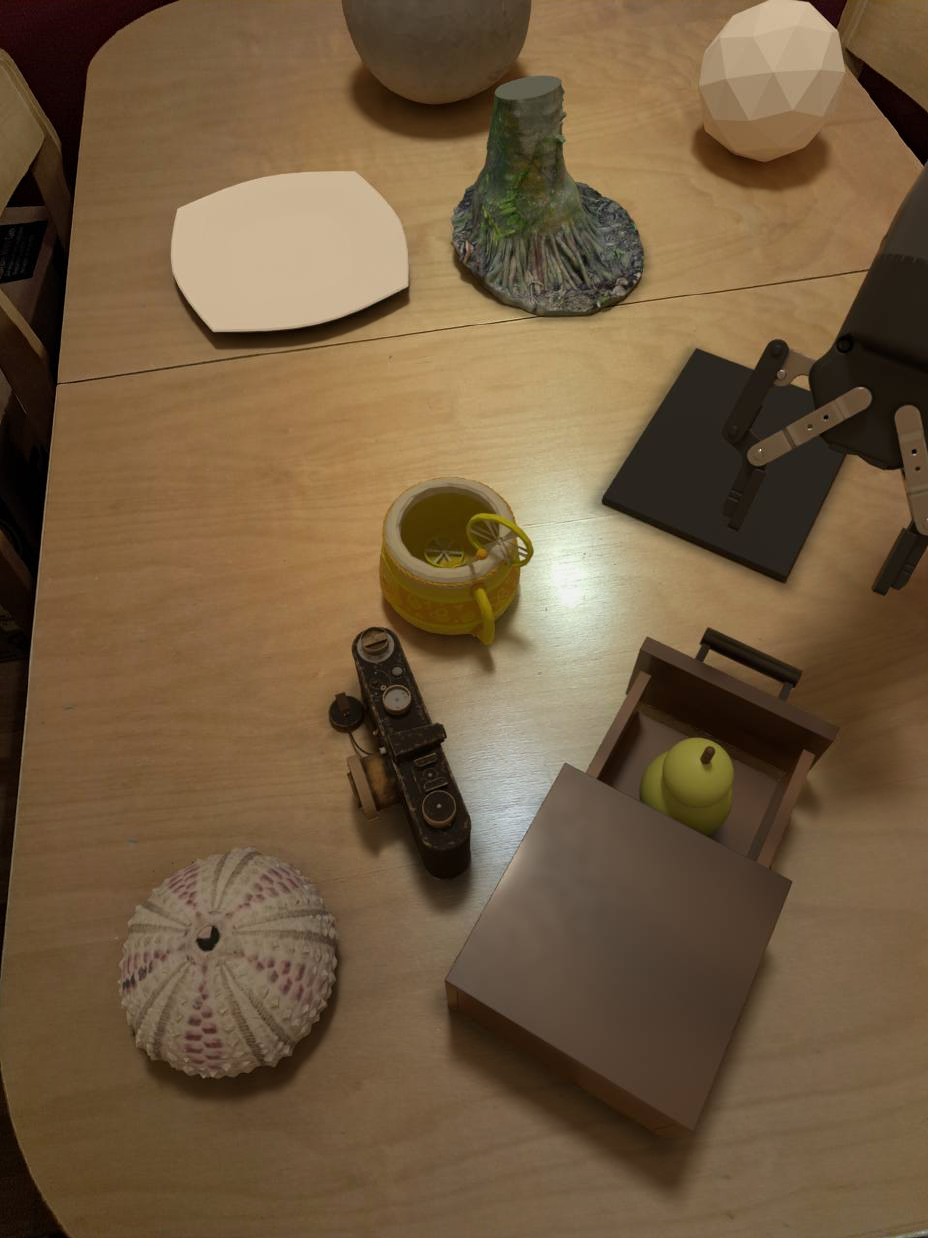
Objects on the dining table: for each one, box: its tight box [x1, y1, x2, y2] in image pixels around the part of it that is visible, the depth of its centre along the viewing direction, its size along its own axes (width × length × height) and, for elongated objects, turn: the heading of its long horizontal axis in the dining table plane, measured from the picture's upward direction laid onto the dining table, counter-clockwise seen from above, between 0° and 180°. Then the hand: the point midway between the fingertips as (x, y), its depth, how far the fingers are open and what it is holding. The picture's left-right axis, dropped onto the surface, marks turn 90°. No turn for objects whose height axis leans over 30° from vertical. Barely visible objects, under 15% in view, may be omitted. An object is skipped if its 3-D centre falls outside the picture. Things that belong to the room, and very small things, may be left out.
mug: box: [378, 476, 535, 646], centre depth 69 cm, size 13×11×12 cm
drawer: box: [585, 626, 841, 869], centre depth 62 cm, size 18×13×7 cm
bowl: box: [341, 0, 532, 105], centre depth 103 cm, size 20×20×15 cm
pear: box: [639, 737, 734, 837], centre depth 58 cm, size 6×6×11 cm
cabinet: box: [444, 762, 793, 1139], centre depth 56 cm, size 15×15×9 cm
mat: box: [601, 347, 846, 582], centre depth 80 cm, size 16×20×1 cm
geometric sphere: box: [698, 0, 846, 163], centre depth 98 cm, size 14×15×15 cm
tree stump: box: [450, 75, 645, 317], centre depth 90 cm, size 18×20×18 cm
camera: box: [327, 626, 472, 881], centre depth 63 cm, size 16×7×8 cm, turn 21°
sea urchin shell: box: [116, 846, 341, 1080], centre depth 56 cm, size 13×14×8 cm
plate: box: [170, 170, 410, 334], centre depth 93 cm, size 23×23×2 cm
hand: (804, 560), depth 53 cm, fingers open, 8 cm apart
